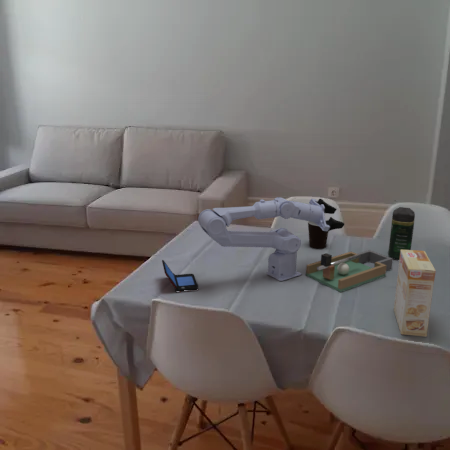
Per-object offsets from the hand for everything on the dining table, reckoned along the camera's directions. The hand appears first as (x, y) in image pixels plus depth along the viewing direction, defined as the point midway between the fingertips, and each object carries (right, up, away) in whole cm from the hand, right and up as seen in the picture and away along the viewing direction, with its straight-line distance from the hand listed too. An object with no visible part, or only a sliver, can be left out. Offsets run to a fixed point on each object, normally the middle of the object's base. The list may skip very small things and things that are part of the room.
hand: (338, 218), depth 180 cm
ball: (+1, -17, -4) cm, 18 cm away
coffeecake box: (+13, -30, -33) cm, 47 cm away
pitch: (+5, -19, -1) cm, 20 cm away
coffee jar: (+26, -14, +15) cm, 33 cm away
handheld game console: (-55, -23, -8) cm, 60 cm away
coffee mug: (-2, -11, +26) cm, 28 cm away
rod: (-1, -19, -5) cm, 20 cm away
